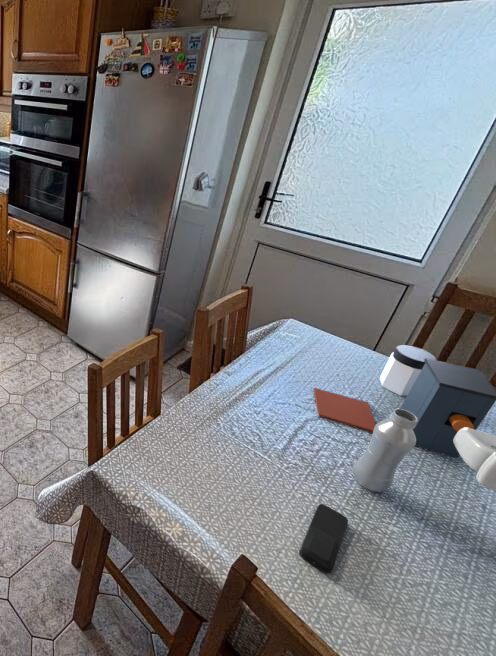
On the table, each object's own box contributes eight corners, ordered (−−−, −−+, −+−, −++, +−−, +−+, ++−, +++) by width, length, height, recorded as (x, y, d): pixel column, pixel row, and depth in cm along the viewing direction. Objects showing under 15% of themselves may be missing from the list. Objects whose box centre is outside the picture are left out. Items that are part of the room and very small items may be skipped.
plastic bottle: (382, 477, 92) (421, 410, 84) (390, 501, 87) (433, 432, 79) (346, 465, 96) (380, 399, 87) (352, 488, 90) (388, 420, 82)
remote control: (317, 507, 87) (297, 555, 78) (319, 501, 86) (300, 549, 77) (346, 523, 84) (329, 576, 74) (349, 518, 83) (333, 570, 74)
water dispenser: (443, 429, 105) (480, 370, 97) (459, 459, 97) (501, 397, 89) (393, 415, 109) (425, 357, 101) (405, 442, 101) (440, 382, 93)
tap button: (465, 427, 94) (472, 417, 93) (469, 434, 92) (476, 424, 91) (446, 422, 96) (452, 411, 95) (450, 429, 94) (456, 418, 93)
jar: (403, 378, 122) (420, 345, 117) (427, 397, 115) (447, 363, 110) (370, 377, 123) (386, 344, 118) (392, 396, 116) (410, 361, 110)
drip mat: (367, 404, 113) (368, 402, 113) (377, 433, 104) (378, 431, 103) (313, 389, 119) (314, 387, 118) (318, 416, 109) (319, 414, 109)
